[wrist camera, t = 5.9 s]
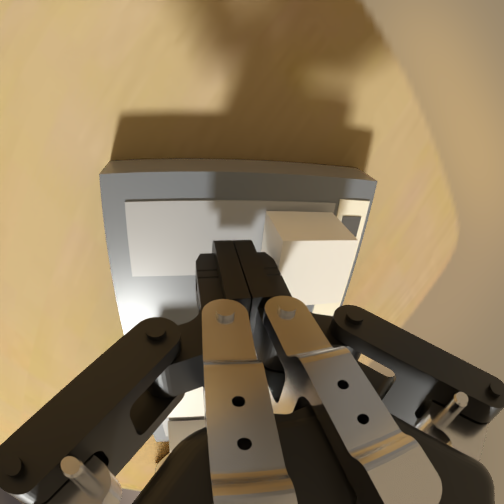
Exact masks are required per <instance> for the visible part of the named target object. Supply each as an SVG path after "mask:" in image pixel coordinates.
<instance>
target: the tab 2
mask: <svg viewBox="0 0 504 504" xmlns="http://www.w3.org/2000/svg"><path fill="white" fill-rule="evenodd" d="M357 243H358V240H357V238H356V237H355V236H354V235H353V234H352V233H351V232H350V231H349V230H348V229H347V228H346V227H345V226H344V224H343V223H342V222H341V221H340V220H339V219H338V218H337V217H336V216H335V215H334V214H333V213H332V212H296V211H266V216H265V224H264V232H263V240H262V248H261V252H266V253H267V254H268V255H269V256H271V257H272V258H273V259H274V261H275V263H276V265H277V267H278V269H279V271H280V273H281V275H282V277H283V279H284V281H285V283H286V285H287V287H288V289H289V291H290V293H291V296H292V297H294V298H296V299H298V300H300V301H302V302H303V303H304V304H305V305H315V304H327V303H338V302H340V300H341V296H342V293H343V290H344V287H345V284H346V281H347V277H348V274H349V271H350V267H351V264H352V261H353V257H354V254H355V250H356V247H357Z"/></svg>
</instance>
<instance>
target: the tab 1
mask: <svg viewBox="0 0 504 504" xmlns="http://www.w3.org/2000/svg"><path fill="white" fill-rule="evenodd" d="M204 427H205V420H190V421H168V435H169V449H170V453H171V451H172V450H173V449H174V448H175V447H176V446H177V445H178V444H179V443H180V442H181V441H182V440H183V439H184V438H186V437H187V436H188V435H190V434H192V433H193V432H195V431H197V430H199V429H202V428H204Z"/></svg>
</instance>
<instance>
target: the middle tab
mask: <svg viewBox="0 0 504 504" xmlns="http://www.w3.org/2000/svg"><path fill="white" fill-rule="evenodd" d="M195 416H204V398H203V387H200V388H197V389H194V390H192V391H189V392H186V393H185V395H184V397H183V399H182V400H181V401H180V402H179V404H178V405H177V406H176V407H175V408H174V410H173V411H172V412H171V413H170V414H169V415H168V417H167V418H169V417H195Z"/></svg>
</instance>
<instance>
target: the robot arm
mask: <svg viewBox="0 0 504 504" xmlns="http://www.w3.org/2000/svg"><path fill="white" fill-rule="evenodd" d="M196 301H197V310H198V315H197V316H196V317H195V318H194V319H193V320H191V321H189V322H187V323H184V324H181V325H177V324H176V323H175V322H173V321H171V320H169V319H167V318H162V317H152V318H147V319H145V320H142V321H141V322H139V323H138V324H137V325H135V326H134V327H133V328H132V329H131V330H130V331H129V332H127V333H126V334H125V335H124V336H123V337H122V338H120V339H119V340H118V341H117V342H116V343H115V344H113V345H112V346H111V347H110V348H109V349H108V350H107V351H105V352H104V353H103V354H102V355H101V356H100V357H99V358H97V359H96V360H95V361H94V362H93V363H92V364H91V365H89V366H88V367H87V368H86V369H85V370H84V371H83V372H81V373H80V374H79V375H78V376H77V377H76V378H75V379H73V380H72V381H71V382H70V383H69V384H68V385H67V386H66V387H64V388H63V389H62V390H61V391H60V392H59V393H58V394H57V395H55V396H54V397H53V398H52V399H51V400H50V401H49V402H48V403H46V404H45V405H44V406H43V407H42V408H41V409H40V410H39V411H38V412H36V413H35V414H34V415H33V416H32V417H31V418H30V419H29V420H28V421H26V422H25V423H24V424H23V425H22V426H21V427H20V428H19V429H18V430H17V431H15V432H14V433H13V434H12V435H11V436H10V437H9V438H8V439H7V440H6V441H5V442H3V443H2V444H1V445H0V487H1V488H2V489H3V490H4V491H6V492H7V493H9V494H10V495H12V496H14V497H15V498H16V499H17V500H18V501H20V502H21V503H23V504H119V503H120V500H121V497H122V489H121V485H120V483H119V481H118V480H117V478H116V477H115V476H116V475H117V474H118V473H119V472H120V471H121V470H122V468H123V467H124V466H125V465H126V464H127V463H128V462H129V461H130V459H131V458H132V457H133V456H134V455H135V454H136V453H137V451H138V450H139V449H140V448H141V447H142V446H143V445H144V443H145V442H146V441H147V440H148V439H149V438H150V436H151V435H152V434H153V433H154V432H155V431H156V430H157V428H158V427H159V426H160V425H161V424H162V423H163V421H164V420H165V419H166V418H167V417H168V415H169V414H170V413H171V412H172V411H173V410H174V408H175V407H176V406H177V405H178V404H179V402H180V401H181V400H182V399H183V397H184V395H185V393H186V392H189V391H192V390H194V389H197V388H200V387H203V398H204V417H205V427H204V428H202V429H199V430H197V431H195V432H193V433H192V434H190V435H188V436H187V437H186V438H184V439H183V440H182V441H181V442H180V443H179V444H178V445H177V446H176V447H175V448H174V449H173V450H172V451H171V453H170V454H169V455H168V457H167V458H166V460H165V461H164V462H163V464H162V465H161V466H160V468H159V469H158V470H157V472H156V473H155V474H154V476H153V477H152V478H151V480H150V481H149V482H148V484H147V485H146V486H145V487H144V489H143V490H142V491H141V493H140V494H139V495H138V497H137V498H136V499H135V500H134V502H133V503H132V504H495V501H494V485H493V480H492V477H491V475H490V473H489V472H488V470H487V469H486V468H485V466H484V465H483V464H482V463H480V462H479V461H480V457H481V454H482V450H483V446H484V442H485V437H486V433H487V428H488V424H489V422H490V421H491V420H492V419H493V418H494V417H495V416H496V415H497V414H498V413H499V412H500V411H501V410H502V409H503V408H504V384H503V382H502V381H501V380H499V379H498V378H496V377H494V376H493V375H490V374H489V373H487V372H485V371H483V370H481V369H479V368H477V367H475V366H473V365H471V364H469V363H467V362H465V361H463V360H461V359H460V358H458V357H456V356H454V355H452V354H450V353H448V352H446V351H444V350H442V349H440V348H438V347H436V346H434V345H432V344H430V343H428V342H427V341H425V340H423V339H420V338H419V337H417V336H415V335H413V334H411V333H409V332H407V331H405V330H403V329H401V328H399V327H397V326H395V325H393V324H392V323H390V322H388V321H386V320H384V319H382V318H380V317H378V316H376V315H374V314H372V313H370V312H368V311H366V310H364V309H362V308H360V307H357V306H353V305H343V306H340V307H338V308H337V309H336V310H335V312H334V314H333V316H329V315H321V314H315V313H311V312H310V311H309V310H308V308H307V306H306V305H305V304H304V303H303V302H302V301H300V300H298V299H296V298H294V297H292V296H291V293H290V291H289V289H288V287H287V285H286V283H285V281H284V279H283V277H282V275H281V273H280V271H279V269H278V267H277V265H276V263H275V261H274V259H273V258H272V257H271V256H269V255H268V254H267V253H266V252H257V251H256V249H255V246H254V244H253V242H252V240H213V243H212V253H202V254H200V255H199V256H198V258H197V260H196ZM255 351H256V352H255ZM361 353H362V354H363V355H365V356H367V357H369V358H371V359H373V360H374V361H376V362H378V363H380V364H382V365H384V366H385V367H387V368H389V369H391V370H392V371H393V372H394V373H395V376H393V377H387V376H384V375H383V374H381V373H379V372H377V371H375V370H373V369H372V368H370V367H368V366H366V365H364V364H362V363H361V362H359V361H358V359H359V357H360V355H361ZM256 354H257V356H256Z"/></svg>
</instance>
